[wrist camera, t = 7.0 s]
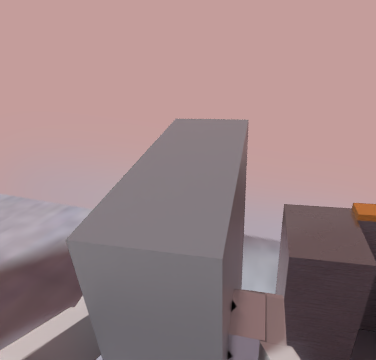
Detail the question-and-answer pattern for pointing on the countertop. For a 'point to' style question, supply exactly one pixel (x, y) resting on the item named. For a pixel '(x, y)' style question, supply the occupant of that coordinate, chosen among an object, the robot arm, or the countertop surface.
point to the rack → (327, 278)
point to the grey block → (168, 246)
